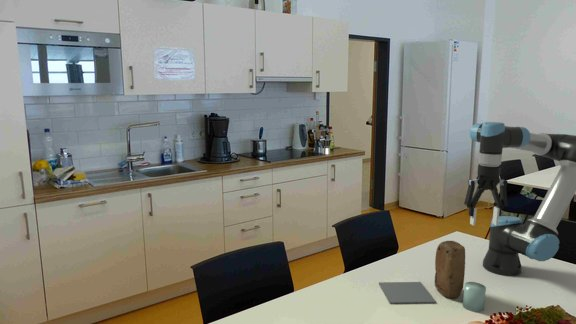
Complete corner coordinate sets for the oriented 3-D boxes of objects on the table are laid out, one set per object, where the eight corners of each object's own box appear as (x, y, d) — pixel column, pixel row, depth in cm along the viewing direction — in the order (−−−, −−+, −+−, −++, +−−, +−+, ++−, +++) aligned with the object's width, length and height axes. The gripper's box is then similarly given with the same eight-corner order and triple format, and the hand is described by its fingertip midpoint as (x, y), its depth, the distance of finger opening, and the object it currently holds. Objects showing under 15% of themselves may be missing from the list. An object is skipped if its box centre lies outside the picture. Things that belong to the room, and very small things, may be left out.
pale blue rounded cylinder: (478, 302, 158) (479, 281, 157) (487, 311, 151) (489, 290, 150) (459, 302, 158) (461, 281, 156) (468, 312, 151) (470, 291, 150)
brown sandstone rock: (464, 298, 161) (468, 247, 157) (446, 300, 159) (450, 249, 156) (447, 285, 171) (450, 237, 168) (430, 287, 169) (433, 238, 166)
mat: (420, 283, 173) (420, 281, 173) (435, 303, 157) (435, 301, 157) (378, 283, 172) (378, 282, 172) (389, 303, 156) (389, 302, 156)
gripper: (511, 162, 161) (505, 221, 165) (457, 162, 160) (452, 221, 164) (523, 166, 154) (516, 227, 158) (466, 166, 153) (461, 227, 157)
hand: (483, 224), depth 161 cm, fingers open, 8 cm apart
